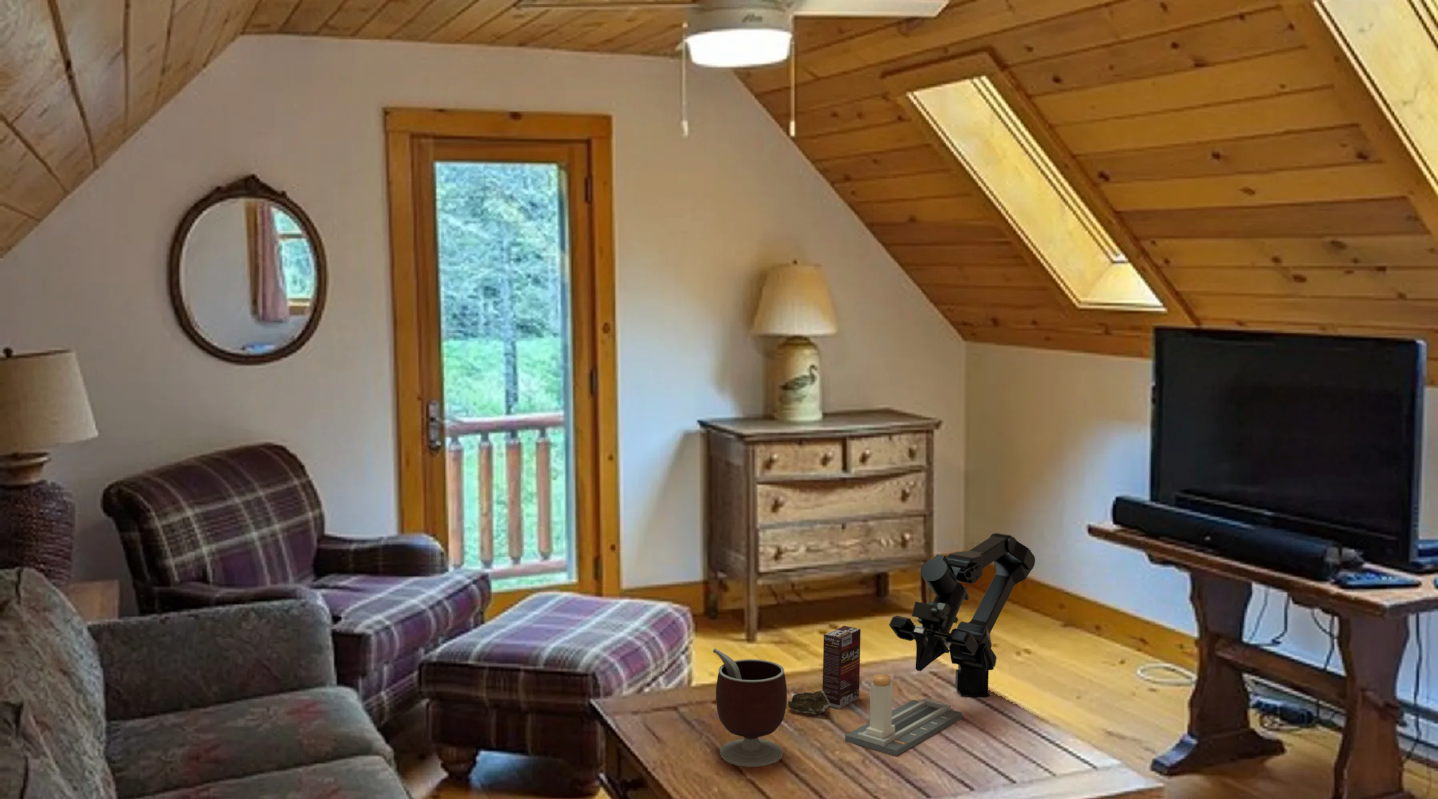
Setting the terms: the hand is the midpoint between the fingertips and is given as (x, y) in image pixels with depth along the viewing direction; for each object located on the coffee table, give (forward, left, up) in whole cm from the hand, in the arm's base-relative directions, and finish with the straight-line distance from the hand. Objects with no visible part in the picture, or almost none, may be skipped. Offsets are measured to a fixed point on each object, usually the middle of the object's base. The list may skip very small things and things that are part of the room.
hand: (917, 670), depth 259 cm
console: (+3, +4, -11) cm, 12 cm away
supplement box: (+15, -12, -12) cm, 22 cm away
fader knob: (+9, +11, -10) cm, 17 cm away
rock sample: (+22, -7, -12) cm, 26 cm away
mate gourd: (+36, +16, -12) cm, 41 cm away
